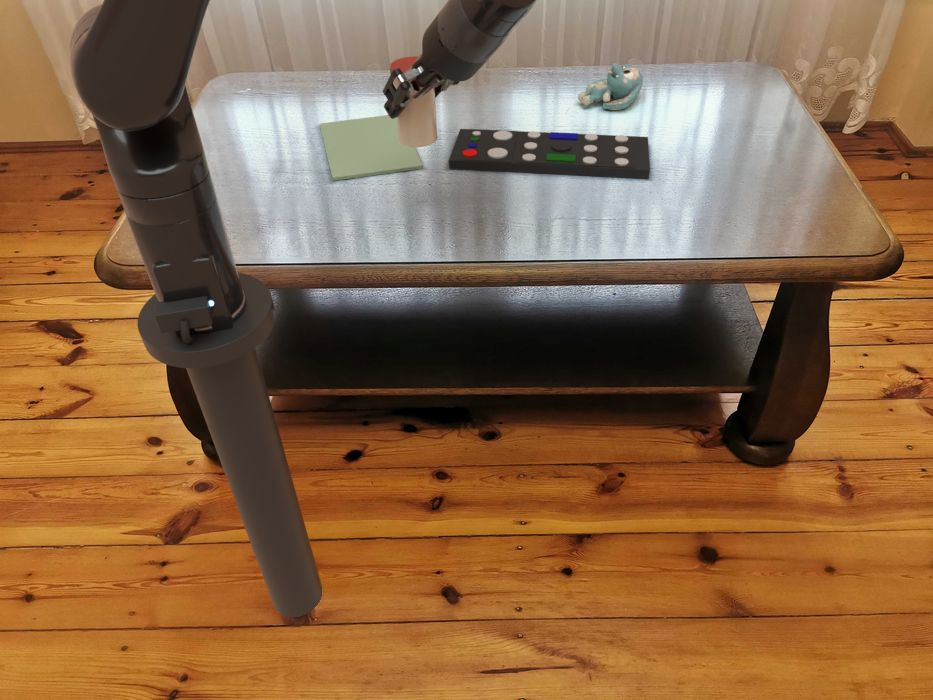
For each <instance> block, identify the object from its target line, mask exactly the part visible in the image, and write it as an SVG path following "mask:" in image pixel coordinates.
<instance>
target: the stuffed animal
mask: <svg viewBox="0 0 933 700" xmlns="http://www.w3.org/2000/svg"><path fill="white" fill-rule="evenodd" d="M643 82H644V78H643V74H642V73H641V71H639V70H638V69H637V68H635V67H633V66H632V65H631V64H629V63H625V64H623V65H621V64H619V63H617V62H614V63H612V64H611V68H610V70H609V71H608V72H607V75H606V78H602V79H599V80H598V79H597V80H595V81H593V82H591V83H590V84H588V86H587V87H586V88H585V91H582V92H580V93H578V94H577V101H579V102H580V103H582V104H583V105H584V106H588V105H590V104H592V103H594V101H595V102H601V101H603V104H602V109H607V110H609V111H610V110H611V111H620V110H621V111H622V110H624V109H626V108H628V107H629V106H630V105H631V104H632V103H633V102H634V101H635V100H636V99H637V98H638V97H639V95H640V93H641V90H642V88H643ZM611 97H612V98H614V99H615V100H612V101H611Z"/></svg>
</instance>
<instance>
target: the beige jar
mask: <svg viewBox="0 0 933 700" xmlns="http://www.w3.org/2000/svg"><path fill="white" fill-rule="evenodd" d="M418 87H419V89H420V90H421V89H422V88H423V87H420V86H418ZM409 94H410V91H408V93H407V94H406V96H408V95H409ZM397 125H398V137H399V142H400V143H401V144H403V145H405V146H408V147H415V148H423V147H428V146H431V145H433V144H434V143H436V142H437V140H438V127H437V105H436V98H435V87H434V88H432V89H431V90H430V91H429V92H428V93H427V94H425V95H424V96H423V97H422V98H417V99H413V100H412V101H411V102H410V103H409V104H408V105H407V106H406V107H405V109H404V110H403V111H402V112H401V113H400V115H399V116H398V117H397Z"/></svg>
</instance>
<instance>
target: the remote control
mask: <svg viewBox="0 0 933 700" xmlns="http://www.w3.org/2000/svg"><path fill="white" fill-rule="evenodd" d="M448 169H449V170H464V171H483V172H499V173H500V172H502V173H519V174H521V173H522V174H538V175H539V174H540V175H557V176H559V175H560V176H577V177H578V176H581V177H599V178H600V177H602V178H620V179H621V178H622V179H638V180H640V179H641V180H649V179H650V174H651V173H650V172H651V165H650V149H649V137H648V136H637V135H635V136H634V135H624V134H623V135H622V134H619V135H613V134H595V133H578V132H555V131H549V132H541V131H523V130H521V131H520V130H503V129H502V130H501V129H500V130H499V129H479V128H478V129H477V128H459V131H458V134H457V136H456V139H455V142H454V145H453V148H452V151H451V153H450V156H449V159H448Z"/></svg>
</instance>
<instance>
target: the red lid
mask: <svg viewBox="0 0 933 700" xmlns="http://www.w3.org/2000/svg"><path fill="white" fill-rule="evenodd" d="M418 57H419V56H405V57H401V58H397V59H395V60H393V61H392V62H391V63H390V65H389V67H390V68H389V73H390V74H389V75H391V73H392V72H393V71H394V70H395V69H398V68H400V69H401V71H402V73H404V72H405V71H406V70H407V69H409V68H410V67H411V66H412V65H413V64H414V63H415V61H416V59H417V58H418ZM415 82H416V84H417V85H418V86H419V84H418V83H417V81H416V79H415Z"/></svg>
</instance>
